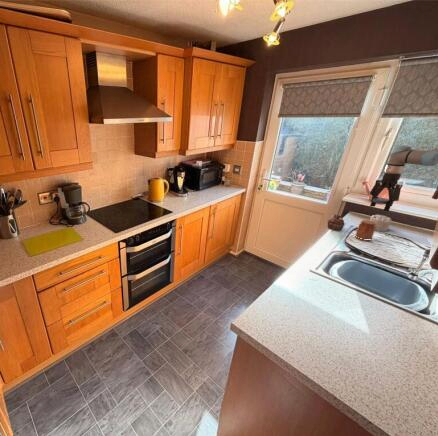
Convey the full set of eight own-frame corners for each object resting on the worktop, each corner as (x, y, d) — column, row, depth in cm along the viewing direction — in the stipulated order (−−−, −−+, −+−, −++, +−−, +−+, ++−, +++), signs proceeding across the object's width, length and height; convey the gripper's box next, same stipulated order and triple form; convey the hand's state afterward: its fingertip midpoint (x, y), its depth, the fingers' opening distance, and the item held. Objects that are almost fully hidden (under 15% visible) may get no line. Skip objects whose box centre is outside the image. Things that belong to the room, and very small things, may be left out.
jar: (374, 240, 146) (380, 223, 142) (365, 242, 144) (371, 225, 140) (360, 235, 154) (366, 219, 149) (351, 236, 152) (357, 220, 147)
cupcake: (344, 232, 158) (349, 218, 154) (327, 230, 162) (331, 216, 158) (340, 227, 166) (345, 214, 162) (324, 225, 170) (328, 212, 166)
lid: (376, 199, 149) (377, 196, 149) (392, 203, 143) (394, 200, 142) (370, 201, 146) (371, 198, 145) (386, 205, 139) (388, 202, 138)
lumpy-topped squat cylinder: (387, 227, 165) (392, 216, 162) (387, 233, 156) (392, 221, 153) (368, 223, 171) (372, 212, 168) (367, 228, 163) (371, 217, 159)
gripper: (370, 169, 147) (358, 203, 155) (405, 176, 127) (390, 214, 136) (381, 169, 147) (369, 203, 156) (418, 175, 128) (402, 214, 136)
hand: (379, 208), depth 146 cm, fingers closed on lid, 8 cm apart
